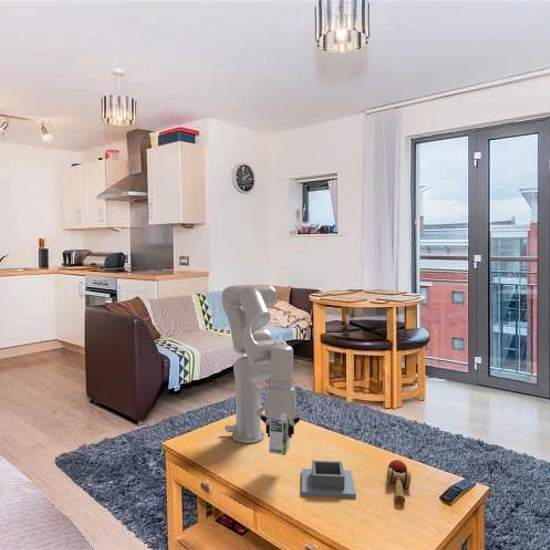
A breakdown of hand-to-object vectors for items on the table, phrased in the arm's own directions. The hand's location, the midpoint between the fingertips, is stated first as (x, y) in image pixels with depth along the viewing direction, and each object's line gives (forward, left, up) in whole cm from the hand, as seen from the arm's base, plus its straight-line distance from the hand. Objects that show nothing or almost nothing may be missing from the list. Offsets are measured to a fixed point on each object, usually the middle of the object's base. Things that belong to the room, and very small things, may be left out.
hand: (279, 435), depth 148 cm
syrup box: (0, 0, -5) cm, 5 cm away
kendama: (+37, -8, -12) cm, 40 cm away
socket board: (+15, -8, -12) cm, 21 cm away
